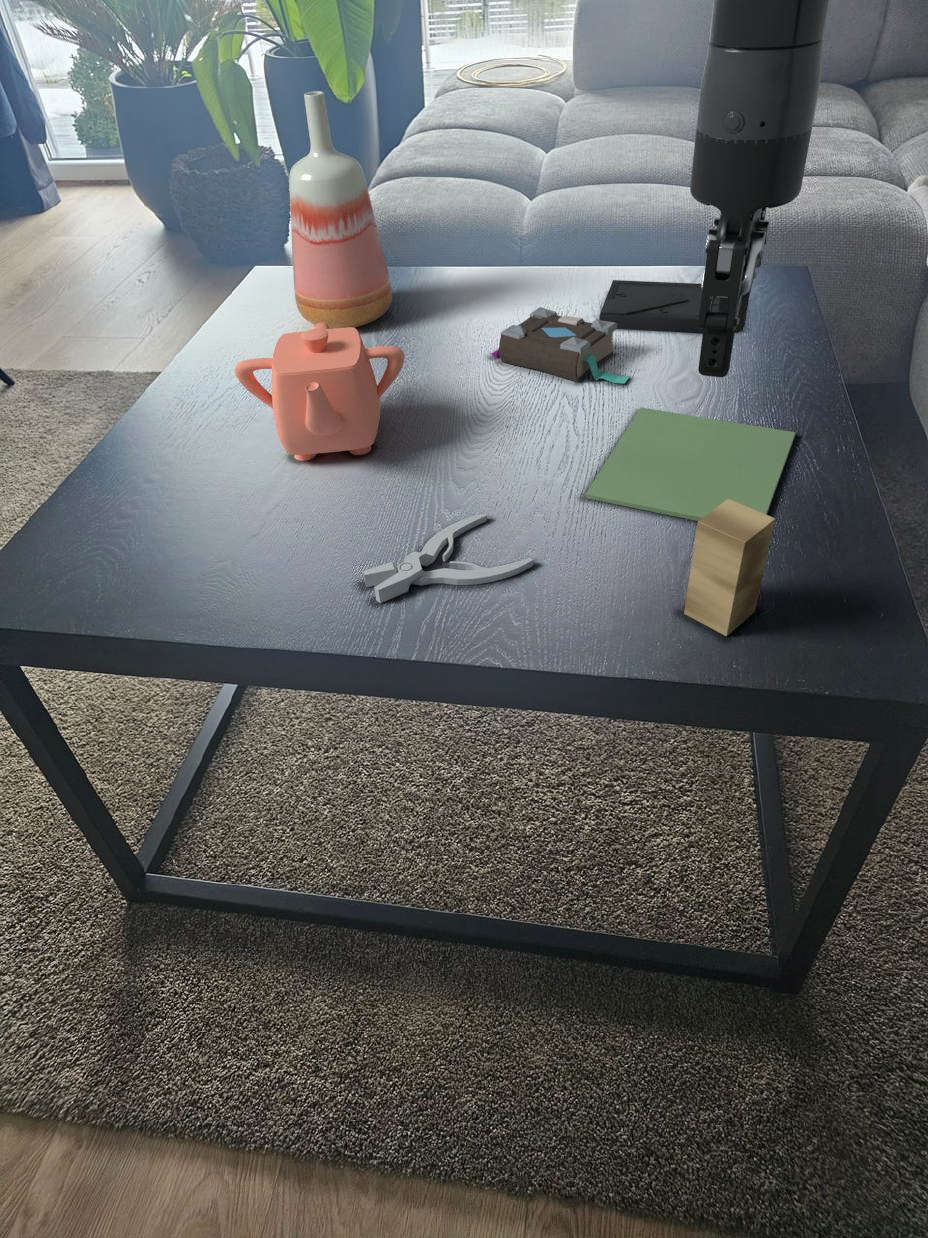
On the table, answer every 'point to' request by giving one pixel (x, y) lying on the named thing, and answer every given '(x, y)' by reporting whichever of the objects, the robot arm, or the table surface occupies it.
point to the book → (559, 345)
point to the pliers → (410, 571)
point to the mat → (692, 465)
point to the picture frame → (654, 306)
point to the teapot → (323, 390)
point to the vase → (334, 233)
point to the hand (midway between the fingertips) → (721, 351)
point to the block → (728, 565)
